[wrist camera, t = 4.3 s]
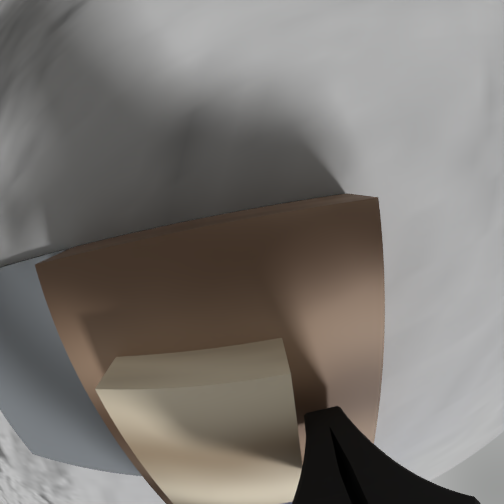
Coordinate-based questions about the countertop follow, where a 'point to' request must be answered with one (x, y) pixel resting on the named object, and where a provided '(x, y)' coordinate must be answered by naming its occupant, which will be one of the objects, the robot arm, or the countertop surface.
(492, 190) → the countertop surface
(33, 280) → the grey flat slab
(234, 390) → the birch tile
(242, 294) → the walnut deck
